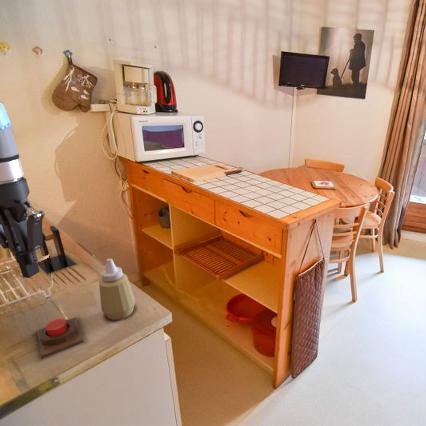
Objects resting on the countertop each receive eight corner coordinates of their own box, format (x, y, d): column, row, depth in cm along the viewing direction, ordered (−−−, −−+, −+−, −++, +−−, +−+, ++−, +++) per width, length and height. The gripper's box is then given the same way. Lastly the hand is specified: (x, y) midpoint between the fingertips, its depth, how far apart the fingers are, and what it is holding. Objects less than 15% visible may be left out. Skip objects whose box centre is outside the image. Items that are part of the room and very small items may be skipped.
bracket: (36, 265, 107) (25, 229, 101) (64, 256, 113) (55, 221, 108) (48, 277, 102) (36, 239, 96) (76, 266, 108) (67, 230, 103)
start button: (46, 329, 78) (44, 323, 77) (66, 322, 81) (65, 316, 80) (48, 339, 76) (46, 332, 75) (69, 331, 78) (67, 325, 77)
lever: (24, 218, 107) (23, 209, 105) (38, 215, 109) (36, 206, 108) (43, 243, 102) (42, 235, 100) (57, 239, 105) (56, 231, 103)
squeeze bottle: (118, 328, 84) (106, 271, 77) (96, 319, 87) (82, 263, 80) (143, 309, 92) (134, 256, 84) (122, 301, 94) (111, 249, 87)
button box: (38, 335, 80) (34, 325, 79) (77, 322, 85) (74, 311, 84) (42, 361, 74) (38, 349, 72) (84, 344, 79) (81, 333, 77)
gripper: (47, 177, 69) (70, 269, 78) (-10, 170, 69) (20, 262, 78) (13, 188, 62) (43, 287, 71) (-50, 180, 62) (-12, 280, 72)
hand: (31, 274), depth 75 cm, fingers closed
